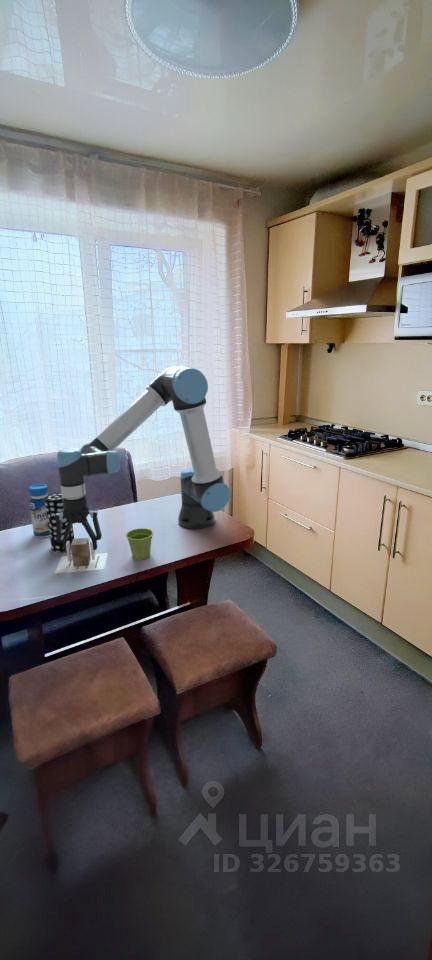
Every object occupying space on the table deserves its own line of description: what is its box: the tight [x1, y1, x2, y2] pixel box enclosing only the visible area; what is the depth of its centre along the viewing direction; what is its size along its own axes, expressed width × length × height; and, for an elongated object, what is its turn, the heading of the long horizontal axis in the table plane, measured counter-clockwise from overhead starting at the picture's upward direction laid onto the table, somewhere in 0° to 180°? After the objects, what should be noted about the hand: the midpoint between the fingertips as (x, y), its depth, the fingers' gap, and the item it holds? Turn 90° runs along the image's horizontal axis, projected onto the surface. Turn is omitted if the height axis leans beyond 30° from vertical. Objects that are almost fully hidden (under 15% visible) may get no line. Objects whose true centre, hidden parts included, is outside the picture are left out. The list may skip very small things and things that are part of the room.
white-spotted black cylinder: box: [44, 492, 75, 553], centre depth 159 cm, size 8×8×20 cm
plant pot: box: [125, 527, 154, 561], centre depth 152 cm, size 9×9×9 cm
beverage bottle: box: [28, 483, 50, 539], centre depth 171 cm, size 8×8×20 cm
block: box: [71, 537, 91, 567], centre depth 148 cm, size 5×5×8 cm
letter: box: [54, 552, 109, 574], centre depth 149 cm, size 16×12×1 cm
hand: (81, 559), depth 149 cm, fingers open, 7 cm apart
